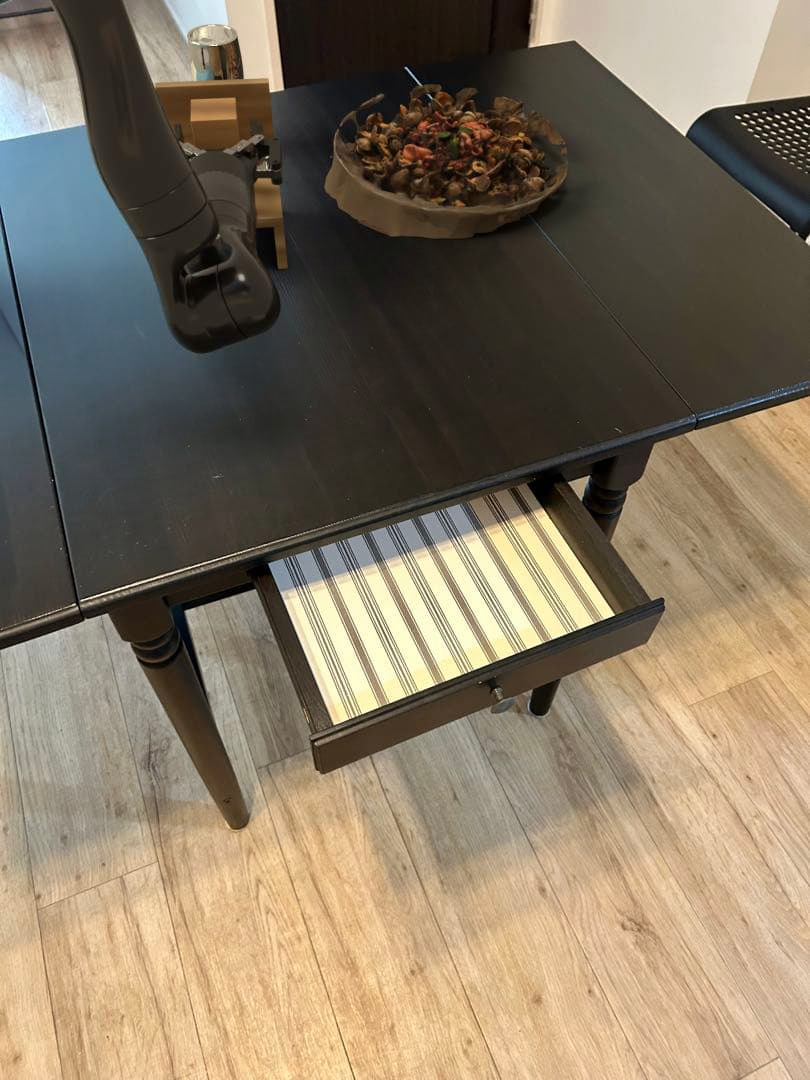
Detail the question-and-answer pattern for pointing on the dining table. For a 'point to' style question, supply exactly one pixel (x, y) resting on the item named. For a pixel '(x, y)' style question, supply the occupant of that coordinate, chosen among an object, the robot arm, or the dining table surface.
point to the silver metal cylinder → (215, 53)
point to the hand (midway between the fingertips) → (216, 130)
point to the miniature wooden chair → (249, 107)
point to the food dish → (443, 167)
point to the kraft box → (215, 123)
